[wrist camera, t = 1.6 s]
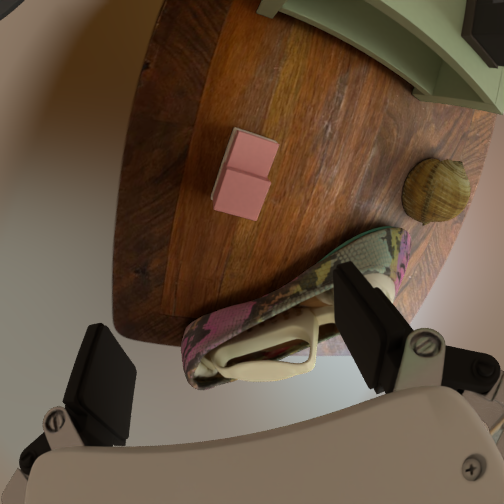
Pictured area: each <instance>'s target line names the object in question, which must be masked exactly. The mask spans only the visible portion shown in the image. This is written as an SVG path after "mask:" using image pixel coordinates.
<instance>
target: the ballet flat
mask: <svg viewBox="0 0 504 504" xmlns="http://www.w3.org/2000/svg"><path fill="white" fill-rule="evenodd" d="M410 250H411V237H410V235H409V233H408V232H407V231H406V230H404V229H402V228H394V227H391V226H384V227H378V228H375V229H371V230H369V231H366V232H364V233H361V234H359V235H357V236H355V237H353V238H351V239H350V240H348V241H346V242H345V243H343V244H342V245H340V246H339V247H337V248H336V249H334V250H333V251H331V252H330V253H329V254H327V255H326V256H325V257H324V258H323V259H321V260H320V261H319V262H318V263H316V264H315V265H313V266H311V267H310V268H309V269H307V270H306V271H305V272H303V273H302V274H301V275H299V276H298V277H297V278H295V279H294V280H292V281H291V282H289V283H288V284H286V285H284V286H283V287H281V288H279V289H278V290H276V291H273V292H271V293H269V294H267V295H265V296H263V297H261V298H258V299H255V300H253V301H249V302H246V303H242V304H237V305H233V306H230V307H226V308H223V309H221V310H218V311H215V312H213V313H210V314H206V315H203V316H201V317H200V318H198V319H197V320H195V321H193V322H192V323H190V324H189V325H188V326H187V327H186V329H185V332H184V336H183V339H182V344H181V353H182V362H183V369H184V372H185V376H186V379H187V381H188V383H189V384H190V385H191V386H192V387H194V388H195V389H198V390H207V389H210V388H214V387H215V386H218V385H221V384H225V383H228V382H233V381H236V380H238V379H240V380H244V381H252V382H268V381H278V380H283V379H286V378H290V377H292V376H295V375H298V374H303V373H307V372H309V371H311V370H312V369H313V368H314V366H315V362H316V351H317V344H318V343H320V342H323V341H325V340H328V339H330V338H333V337H335V336H338V335H340V333H339V331H338V329H337V327H336V324H335V319H334V289H333V270H334V269H336V267H337V265H338V264H341V263H345V262H348V261H352V262H353V263H354V265H355V266H356V267H357V268H358V269H359V271H360V272H361V273H362V274H363V275H364V277H365V278H366V279H367V280H368V281H369V283H370V284H371V285H372V286H373V288H375V287H378V288H380V289H381V290H382V291H383V293H384V294H385V295H386V296H387V297H388V299H389V300H390V301H391V302H392V304H393V302H394V300H395V298H396V296H397V292H398V289H399V286H400V284H401V281H402V279H403V277H404V274H405V271H406V268H407V264H408V261H409V256H410ZM308 347H310V354H309V358H308V360H307V361H305V362H303V363H289V362H283V361H278V360H281V359H283V358H285V357H287V356H289V355H291V354H294V353H296V352H299V351H301V350H303V349H306V348H308Z"/></svg>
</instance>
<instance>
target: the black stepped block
mask: <svg viewBox="0 0 504 504" xmlns="http://www.w3.org/2000/svg"><path fill="white" fill-rule="evenodd" d="M461 37H462V38H463V39H464V40H465V41H466V42H467V43H468V44H469V45H470V46H471V47H472V48H473V50H474V51H475V52H476V53H477V54H478V55H479V56H480V57H481V59H482V60H483V61H484V62H485V63H486V65H487V66H488V67H489V68H496V69H498V66H504V0H467V1H466V8H465V15H464V21H463V27H462V33H461Z"/></svg>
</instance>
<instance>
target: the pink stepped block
mask: <svg viewBox="0 0 504 504" xmlns="http://www.w3.org/2000/svg"><path fill="white" fill-rule="evenodd" d="M278 147H279V144H277V142H276V141H274V140H272V139H269V138H266V137H263V136H260V135H257V134H254V133H251V132H248V131H245V130H242V129H239V128H236V127H234V128H233V131H232V134H231V137H230V140H229V143H228V145H227V148H226V151H225V154H224V157H223V160H222V163H221V166H220V169H219V172H218V175H217V178H216V181H215V184H214V188H213V191H212V194H211V200H213V208H214V210H217V211H221V212H224V213H228V214H232V215H236V216H239V217H243V218H247V219H250V220H254V221H257V218H258V216H259V213H260V210H261V208H262V205H263V202H264V200H265V197H266V195H267V192H268V189H269V187H270V184H271V182H270V181H269V179H268V178H267V176H268V173H269V171H270V168H271V165H272V163H273V160H274V157H275V155H276V152H277V150H278Z"/></svg>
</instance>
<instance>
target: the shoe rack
mask: <svg viewBox="0 0 504 504" xmlns="http://www.w3.org/2000/svg"><path fill="white" fill-rule="evenodd" d="M466 1H467V0H262V1H261V3H260V5H259V7H258V9H257V12H256V13H257V14H260V15H263V16H266V17H269V18H273V17H274V16H275V14H276V13H277V12H278V11H279V12H282V13H285V14H287V15H290V16H292V17H294V18H297V19H299V20H302V21H304V22H306V23H308V24H311V25H313V26H315V27H317V28H319V29H321V30H323V31H325V32H327V33H329V34H331V35H333V36H335V37H337V38H339V39H341V40H343V41H345V42H346V43H348V44H350V45H352V46H354V47H355V48H357V49H359V50H361V51H362V52H364V53H366V54H367V55H369V56H371V57H372V58H374V59H375V60H377V61H379V62H380V63H382V64H383V65H385V66H386V67H388V68H389V69H391V70H392V71H394V72H395V73H396V74H398V75H399V76H401V77H402V78H403V79H405V80H406V81H408V82H409V83H410V84H412V85H413V86H414V89H413V92H412V95H413V96H415V97H416V98H417V99H419V100H420V101H424V102H433V103H441V104H448V105H455V106H461V107H467V108H472V109H477V110H482V111H487V112H492V113H496V114H500V115H503V112H504V66H498V69H496V68H489V67H488V66H487V65H486V63H485V62H484V61H483V60H482V59H481V57H480V56H479V55H478V54H477V53H476V52H475V51H474V50H473V48H472V47H471V46H470V45H469V44H468V43H467V42H466V41H465V40H464V39H463V38H462V37H461V33H462V27H463V21H464V15H465V8H466Z"/></svg>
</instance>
